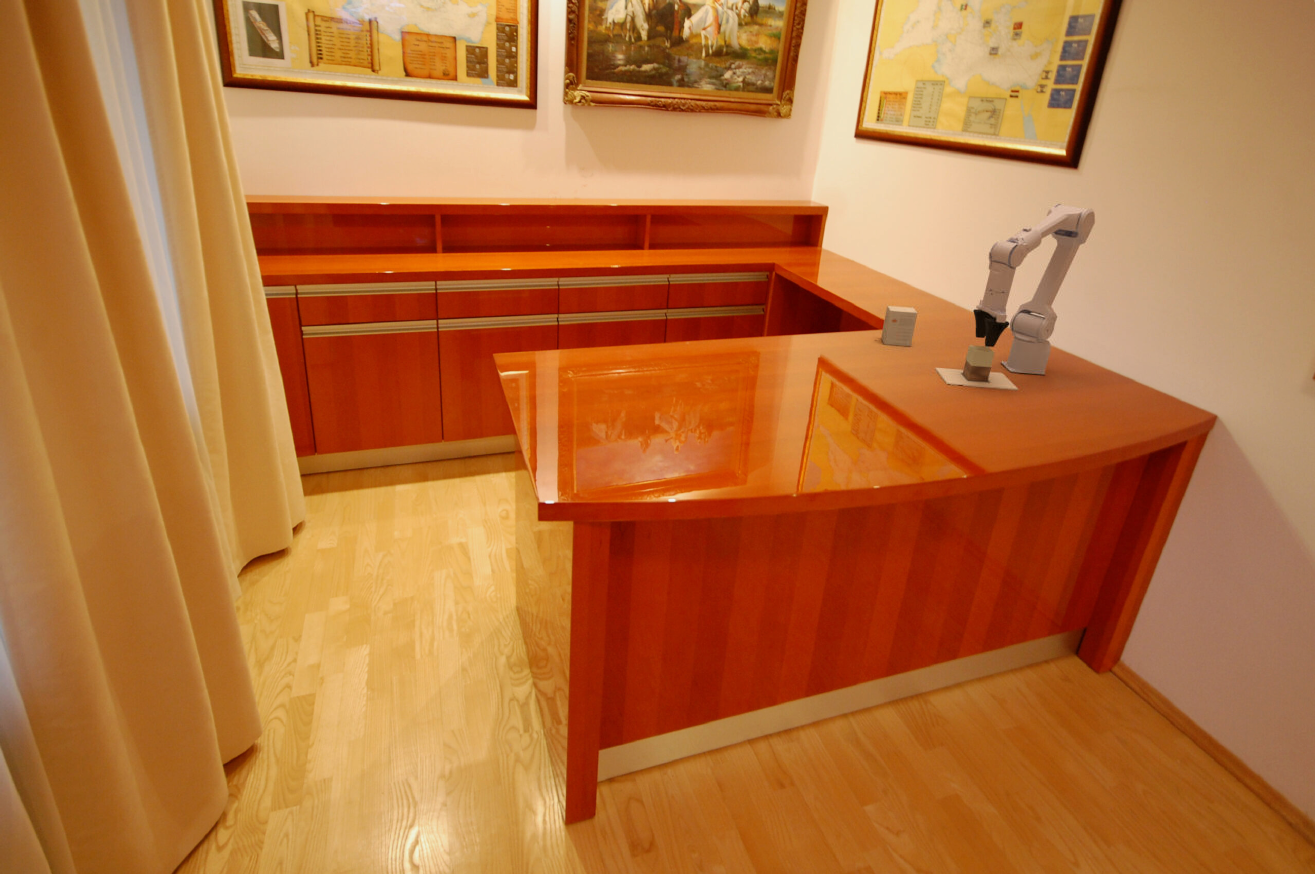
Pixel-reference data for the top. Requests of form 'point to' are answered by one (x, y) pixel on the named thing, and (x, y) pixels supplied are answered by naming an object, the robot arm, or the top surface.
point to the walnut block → (976, 372)
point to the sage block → (980, 356)
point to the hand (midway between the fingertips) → (984, 341)
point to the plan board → (959, 379)
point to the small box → (899, 326)
